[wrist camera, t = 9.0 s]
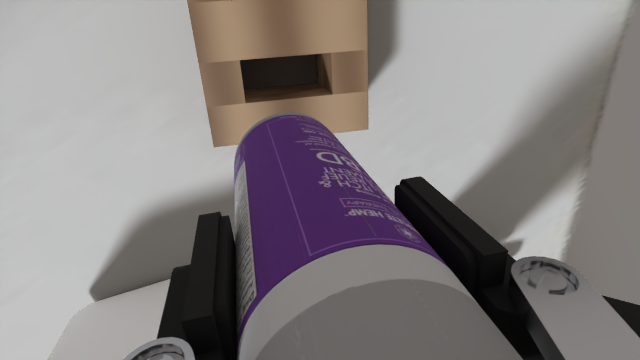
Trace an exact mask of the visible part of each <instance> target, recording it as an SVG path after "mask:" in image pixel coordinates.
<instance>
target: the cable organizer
mask: <svg viewBox="0 0 640 360" xmlns="http://www.w3.org/2000/svg"><path fill="white" fill-rule="evenodd" d="M170 280H171V279H168V280H165V281H162V282H158V283H155V284H152V285H149V286H145V287H142V288H139V289H135V290H132V291H129V292H126V293H122V294H119V295H116V296H113V297H109V298H106V299H103V300H100V301H97V302H94V303H92V304H90V305H88V306H86V307H85V308H83V309H81V310H80V311H79V312H77V313H76V314H75V315H74V316H73V317H72V318H71V320H70V321H69V323H68V325H67V327H66V328H65V330H64V332H63V334H62V335H61V337H60V339H59V341H58V342H57V344H56V346H55V348H54V349H53V351H52V353H51V355H50V356H49V358H48V360H124V358H125V357H126V356H127V355H129V354H130V353H131V352H133V351H134V350H135V349H137V348H138V347H140V346H142V345H144V344H146V343H148V342H150V341H153V340H156V339H157V335H158V330H159V326H160V322H161V318H162V313H163V309H164V305H165V301H166V297H167V292H168V288H169V284H170Z"/></svg>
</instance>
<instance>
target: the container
mask: <svg viewBox="0 0 640 360" xmlns="http://www.w3.org/2000/svg"><path fill="white" fill-rule="evenodd" d="M234 192H235V261H236V333H237V360H523V359H522V357H521V356H520V355H519V354H518V353H517V351H516V350H515V349H514V348H513V346H512V345H511V344H510V343H509V341H508V340H507V339H506V338H505V336H504V335H503V334H502V333H501V332H500V330H499V329H498V328H497V327H496V325H495V324H494V323H493V322H492V320H491V319H490V318H489V317H488V316H487V314H486V313H485V312H484V311H483V309H482V308H481V307H480V306H479V304H478V303H477V302H476V301H475V299H474V298H473V297H472V296H471V294H470V293H469V292H468V291H467V289H466V288H465V287H464V286H463V285H462V283H461V282H460V281H459V280H458V278H457V277H456V275H455V274H454V273H453V272H452V271H451V269H450V268H449V267H448V266H447V265H446V264H445V262H444V261H443V260H442V259H441V258H440V257H439V256H438V254H437V253H436V252H435V251H434V250H433V249H432V247H431V246H430V245H429V244H428V243H427V242H426V241H425V239H424V238H423V237H422V236H421V235H420V234H419V233H418V231H417V230H416V229H415V228H414V227H413V226H412V224H411V223H410V222H409V221H408V220H407V219H406V218H405V216H404V215H403V214H402V213H401V212H400V211H399V209H398V208H397V207H396V206H395V205H394V204H393V203H392V201H391V200H390V199H389V198H388V197H387V196H386V195H385V193H384V192H383V191H382V190H381V189H380V188H379V186H378V185H377V184H376V183H375V182H374V181H373V180H372V178H371V177H370V176H369V175H368V174H367V173H366V172H365V170H364V169H363V168H362V167H361V166H360V165H359V163H358V162H357V161H356V160H355V159H354V158H353V157H352V155H351V154H350V153H349V152H348V151H347V150H346V149H345V147H344V146H343V145H342V144H341V143H340V142H339V140H338V139H337V138H336V137H335V136H334V135H333V134H332V132H331V131H330V130H329V129H328V128H327V127H326V126H325V125H324V124H322V123H321V122H320V121H318V120H316V119H315V118H313V117H311V116H308V115H305V114H301V113H295V112H284V113H278V114H274V115H271V116H268V117H266V118H264V119H262V120H260V121H259V122H257V123H256V124H255V125H253V126H252V127H251V128H250V129H249V130H248V131H247V132H246V133H245V135H244V136H243V138H242V139H241V141H240V143H239V145H238V148H237V151H236V155H235V162H234Z"/></svg>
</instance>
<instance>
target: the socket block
mask: <svg viewBox="0 0 640 360" xmlns="http://www.w3.org/2000/svg"><path fill="white" fill-rule="evenodd" d="M187 2H188V8H189V13H190V18H191V24H192V29H193V35H194V40H195V46H196V51H197V57H198V62H199V68H200V73H201V79H202V84H203V90H204V95H205V101H206V106H207V112H208V117H209V123H210V128H211V134H212V139H213V145H214V147H220V146H229V145H237V144H239V143H240V141H241V139H242V138H243V136H244V135H245V133H246V132H247V131H248V130H249V129H250V128H251V127H252V126H253V125H255V124H256V123H257V122H259V121H260V120H262V119H264V118H266V117H268V116H271V115H274V114H278V113H284V112H295V113H301V114H305V115H308V116H311V117H313V118H315V119H316V120H318V121H320V122H321V123H322V124H324V125H325V126H326V127H327V128H328V129H329V130H330V131H331V132H332V133H341V132H349V131H358V130H366V129H368V42H367V0H187ZM309 54H316V62H317V78H318V83H314V84H303V85H293V86H282V87H271V88H261V89H250V90H244V82H243V75H242V68H241V61H240V60H248V59H260V58H272V57H285V56H297V55H309Z"/></svg>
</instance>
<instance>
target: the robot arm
mask: <svg viewBox="0 0 640 360" xmlns="http://www.w3.org/2000/svg"><path fill="white" fill-rule="evenodd" d="M395 206H396V207H397V208H398V209H399V211H400V212H401V213H402V214H403V215H404V216H405V218H406V219H407V220H408V221H409V222H410V223H411V224H412V226H413V227H414V228H415V229H416V230H417V231H418V233H419V234H420V235H421V236H422V237H423V238H424V239H425V241H426V242H427V243H428V244H429V245H430V246H431V247H432V249H433V250H434V251H435V252H436V253H437V254H438V256H439V257H440V258H441V259H442V260H443V261H444V262H445V264H446V265H447V266H448V267H449V268H450V269H451V271H452V272H453V273H454V274H455V275H456V277H457V278H458V280H459V281H460V282H461V283H462V285H463V286H464V287H465V288H466V289H467V291H468V292H469V293H470V294H471V296H472V297H473V298H474V299H475V301H476V302H477V303H478V304H479V306H480V307H481V308H482V309H483V311H484V312H485V313H486V314H487V316H488V317H489V318H490V319H491V320H492V322H493V323H494V324H495V325H496V327H497V328H498V329H499V330H500V332H501V333H502V334H503V335H504V336H505V338H506V339H507V340H508V341H509V343H510V344H511V345H512V346H513V348H514V349H515V350H516V351H517V353H518V354H519V355H520V356H521V357H522V359H523V360H640V305H636V304H633V303H629V302H625V301H621V300H617V299H614V298H610V297H606V296H602V295H600V293H599V292H598V291H597V290H596V289H595V288H594V287H593V286H592V284H591V283H590V282H589V281H588V280H587V279H586V278H585V277H584V276H583V275H582V274H581V273H580V272H579V271H578V270H576V269H575V268H573V267H572V266H570V265H568V264H566V263H564V262H561V261H558V260H555V259H551V258H546V257H536V256H532V257H525V258H521V259H519V260H517V261H516V260H515V259H513V258H512V257H511V256H510V255H509V254H508V250H507V249H506V248H504V247H503V246H502V245H501V244H500V243H498V242H497V241H496V240H495V239H494V238H493V237H491V236H490V235H489V234H488V233H487V232H486V231H484V230H483V229H482V228H481V227H480V226H479V225H477V224H476V223H475V222H474V221H473V220H472V219H470V218H469V217H468V216H467V215H466V214H465V213H463V212H462V211H461V210H460V209H459V208H458V207H456V206H455V205H454V204H453V203H452V202H450V201H449V200H448V199H447V198H446V197H445V196H443V195H442V194H441V193H440V192H439V191H438V190H436V189H435V188H434V187H433V186H432V185H431V184H429V183H428V182H427V181H426V180H425V179H424V178H422V177H421V176H420V177H414V178H408V179H403V180H401V182H400V185H396V186H395ZM124 360H237V333H236V261H235V241H234V236H233V232H232V227H231V223H230V218H229V216H221V213H220V212H215V213H210V214H204V215H199V218H198V224H197V230H196V236H195V242H194V248H193V254H192V259H191V265H186V266H181V267H176V268H174V269H173V272H172V275H171V280H170V284H169V288H168V292H167V297H166V301H165V305H164V309H163V313H162V318H161V322H160V326H159V330H158V335H157V339H156V340H153V341H150V342H148V343H146V344H144V345H142V346H140V347H138V348H137V349H135V350H134V351H133V352H131V353H130V354H129V355H127V356H126V357H125V358H124Z"/></svg>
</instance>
